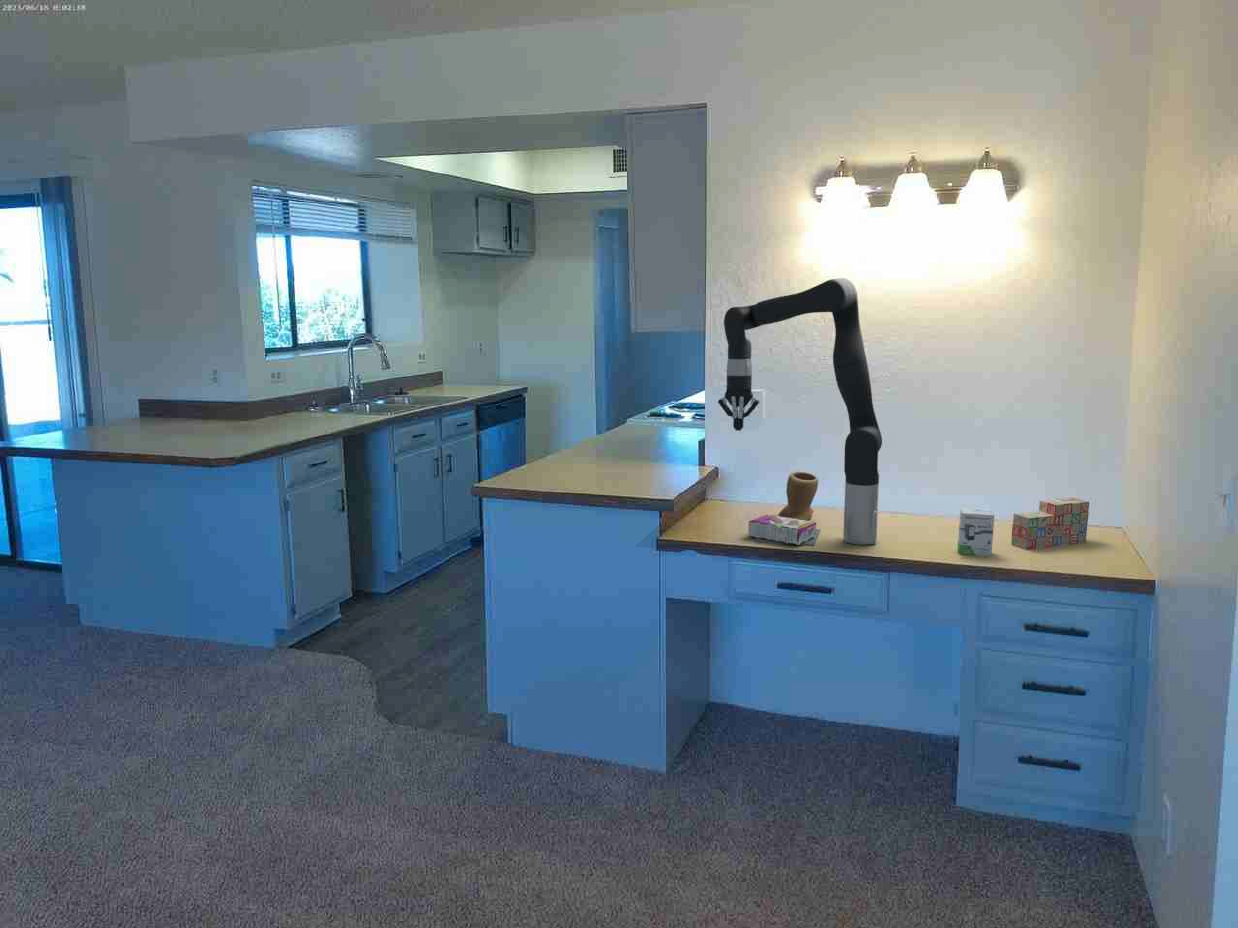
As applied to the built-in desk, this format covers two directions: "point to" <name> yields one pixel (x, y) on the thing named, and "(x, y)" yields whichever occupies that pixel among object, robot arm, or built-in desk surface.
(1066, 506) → the stack of blocks
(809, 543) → the mat
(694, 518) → the built-in desk surface
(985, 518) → the ink box
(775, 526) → the candy bar box
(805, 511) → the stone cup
